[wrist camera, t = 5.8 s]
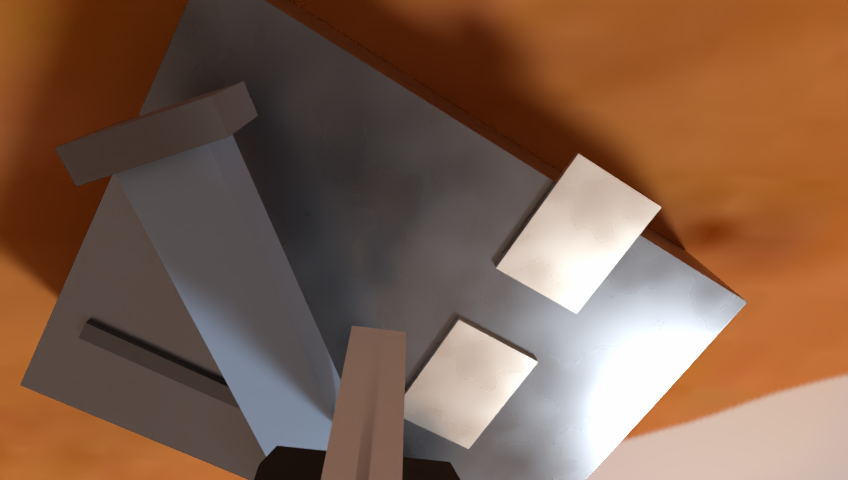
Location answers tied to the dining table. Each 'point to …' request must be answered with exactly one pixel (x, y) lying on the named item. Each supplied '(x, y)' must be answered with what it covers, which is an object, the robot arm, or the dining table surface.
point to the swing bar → (222, 257)
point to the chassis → (393, 267)
